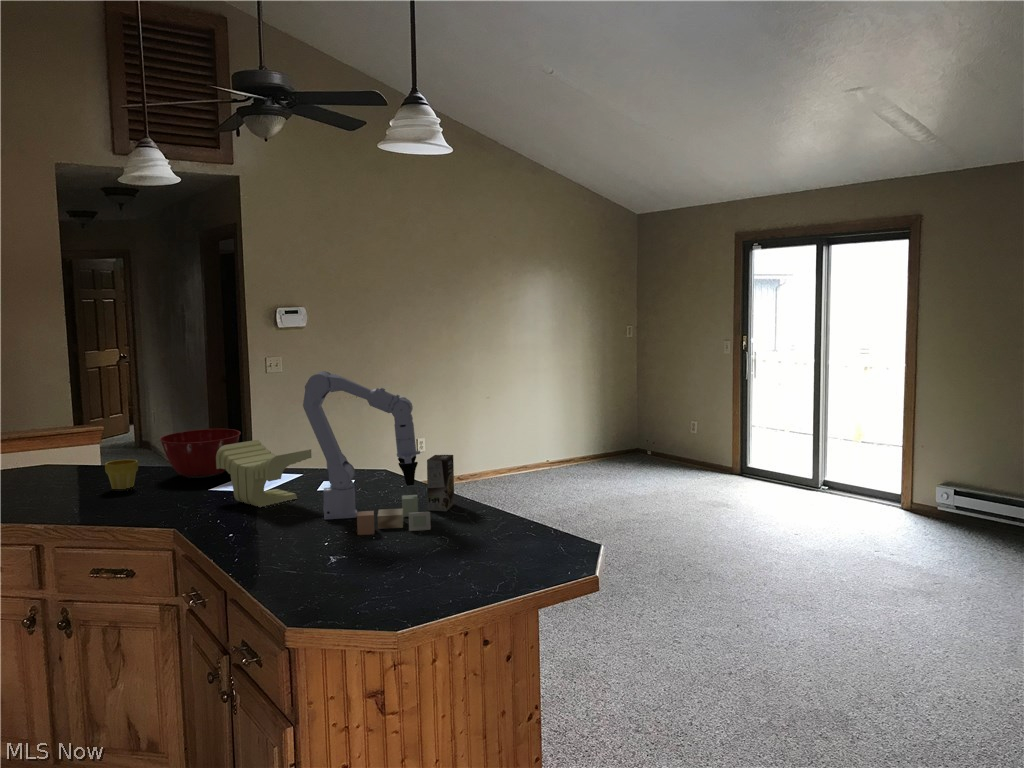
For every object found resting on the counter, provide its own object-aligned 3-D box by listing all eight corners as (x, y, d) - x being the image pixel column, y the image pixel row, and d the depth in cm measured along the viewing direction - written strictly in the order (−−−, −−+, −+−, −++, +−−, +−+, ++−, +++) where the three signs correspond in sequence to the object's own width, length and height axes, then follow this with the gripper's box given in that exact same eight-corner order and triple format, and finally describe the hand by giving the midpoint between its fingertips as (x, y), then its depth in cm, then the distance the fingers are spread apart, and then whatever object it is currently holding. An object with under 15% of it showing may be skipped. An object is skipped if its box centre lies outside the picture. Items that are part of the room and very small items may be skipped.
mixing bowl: (194, 487, 281) (192, 444, 279) (145, 478, 296) (143, 437, 294) (258, 471, 305) (256, 432, 303) (210, 464, 320) (208, 426, 318)
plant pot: (129, 484, 286) (128, 457, 285) (145, 488, 280) (143, 460, 279) (101, 490, 278) (99, 462, 277) (116, 494, 272) (114, 466, 270)
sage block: (402, 517, 238) (402, 499, 238) (402, 513, 243) (401, 495, 242) (418, 516, 239) (417, 498, 239) (417, 512, 244) (416, 494, 243)
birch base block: (378, 529, 226) (377, 516, 226) (379, 522, 233) (378, 509, 233) (402, 528, 227) (402, 514, 227) (403, 521, 234) (402, 508, 234)
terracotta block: (357, 535, 221) (356, 516, 220) (358, 530, 225) (357, 511, 224) (374, 534, 221) (373, 515, 221) (374, 529, 226) (373, 510, 225)
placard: (409, 531, 224) (408, 513, 223) (409, 529, 225) (408, 512, 224) (430, 529, 224) (430, 512, 224) (430, 528, 226) (429, 511, 225)
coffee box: (447, 511, 243) (446, 460, 242) (427, 510, 245) (425, 459, 243) (455, 504, 252) (454, 454, 251) (435, 503, 254) (434, 453, 252)
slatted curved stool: (218, 499, 262) (215, 446, 260) (260, 490, 275) (258, 439, 273) (270, 514, 243) (267, 457, 241) (313, 503, 255) (311, 449, 254)
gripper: (419, 440, 232) (424, 486, 234) (417, 433, 246) (421, 475, 248) (395, 443, 231) (400, 489, 232) (394, 435, 245) (399, 478, 247)
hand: (409, 482), depth 240 cm, fingers open, 7 cm apart
